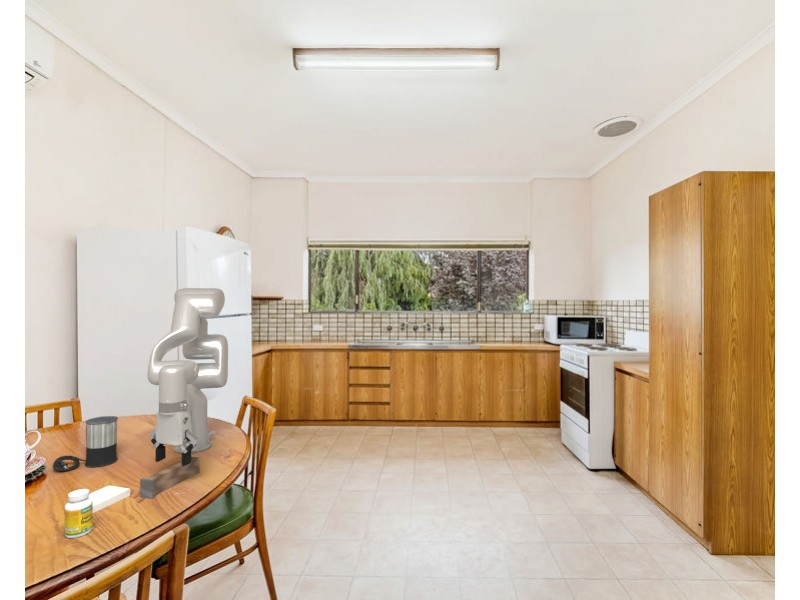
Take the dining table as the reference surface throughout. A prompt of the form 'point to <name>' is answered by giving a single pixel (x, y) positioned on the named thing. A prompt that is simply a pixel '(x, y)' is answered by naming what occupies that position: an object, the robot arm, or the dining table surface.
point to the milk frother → (95, 444)
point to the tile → (107, 496)
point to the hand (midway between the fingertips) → (173, 462)
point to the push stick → (168, 478)
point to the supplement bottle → (78, 514)
